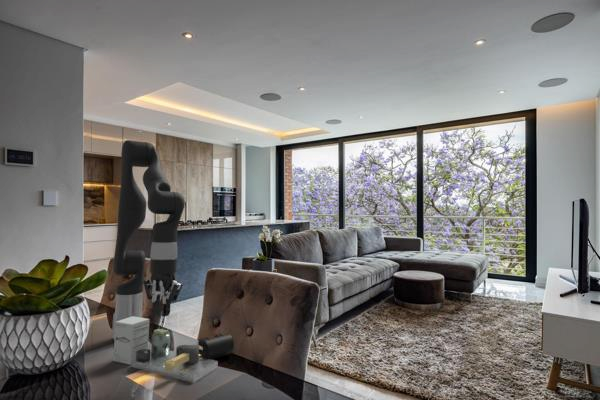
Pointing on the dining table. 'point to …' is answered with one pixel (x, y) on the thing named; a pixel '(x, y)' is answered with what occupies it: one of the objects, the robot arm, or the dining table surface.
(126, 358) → the supplement box
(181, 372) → the grey flat block
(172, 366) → the level knob
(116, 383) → the dining table surface
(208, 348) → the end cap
